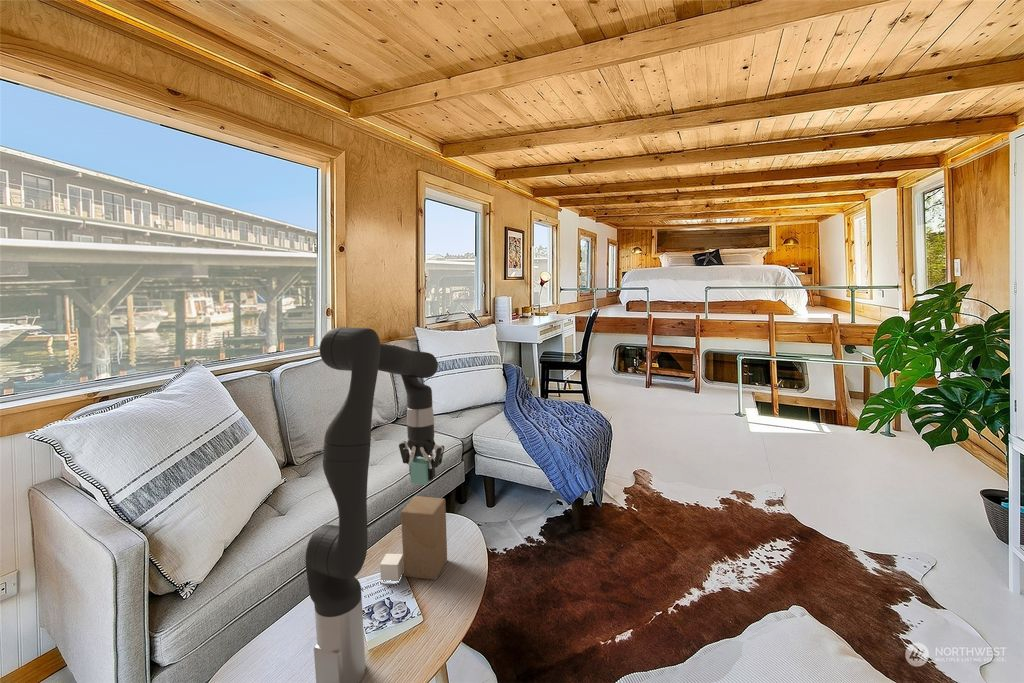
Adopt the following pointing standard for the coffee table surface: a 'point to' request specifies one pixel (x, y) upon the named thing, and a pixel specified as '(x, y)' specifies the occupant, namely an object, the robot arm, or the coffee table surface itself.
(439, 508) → the wooden block
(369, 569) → the coffee table surface
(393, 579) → the cream block
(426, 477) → the teal block
